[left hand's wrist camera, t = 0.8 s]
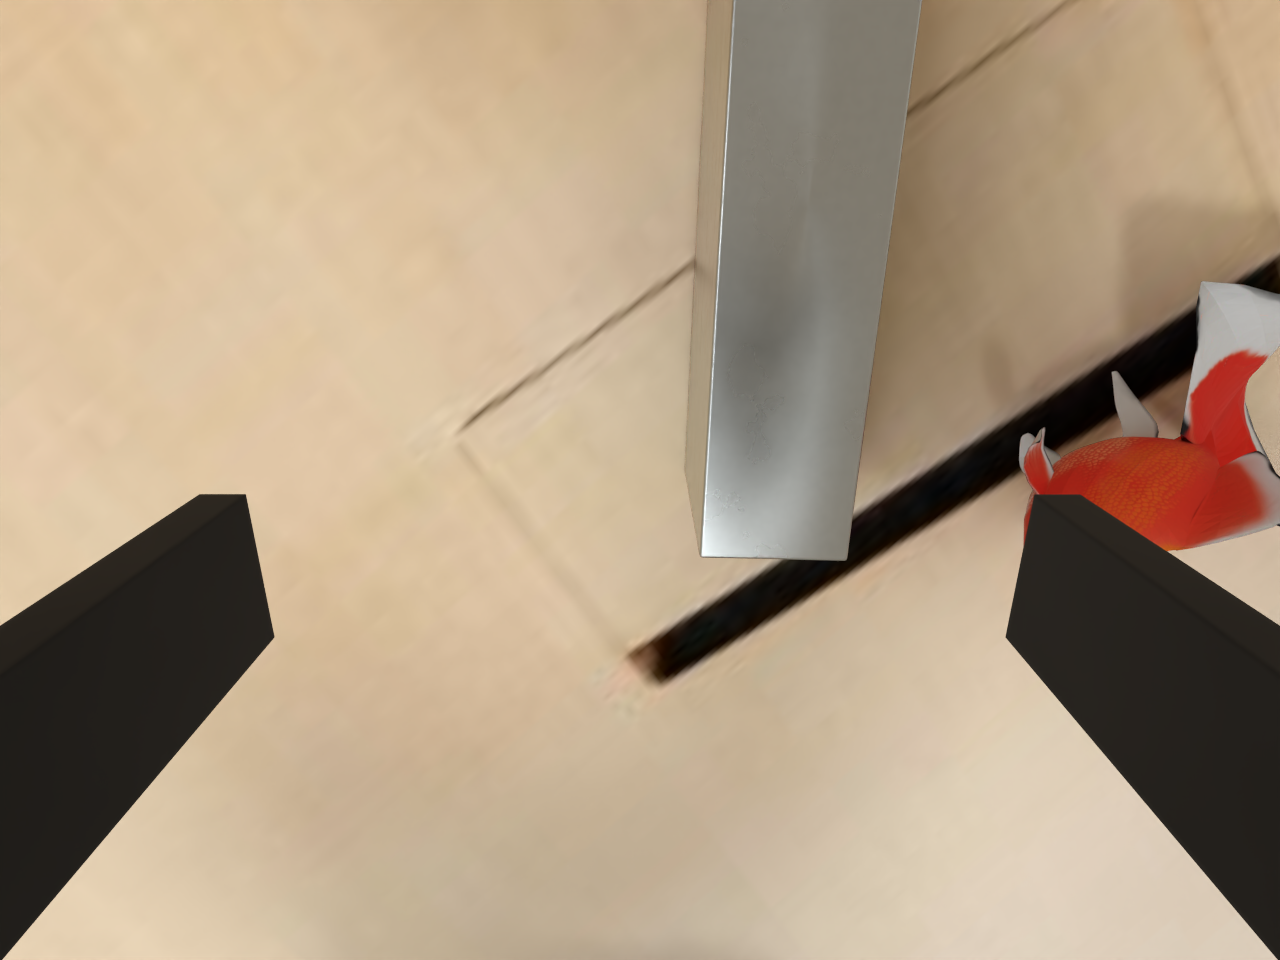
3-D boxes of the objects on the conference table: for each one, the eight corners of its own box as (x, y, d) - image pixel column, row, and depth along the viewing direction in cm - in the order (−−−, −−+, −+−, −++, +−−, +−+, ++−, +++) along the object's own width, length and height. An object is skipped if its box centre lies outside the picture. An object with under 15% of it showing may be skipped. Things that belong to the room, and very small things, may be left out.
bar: (795, 474, 33) (847, 561, 25) (684, 472, 33) (699, 558, 24) (860, -142, 25) (965, -309, 17) (714, -146, 25) (751, -316, 17)
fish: (908, 389, 26) (1224, 502, 19) (1171, 176, 30) (1523, 199, 23) (941, 580, 33) (1185, 722, 25) (1154, 385, 37) (1423, 457, 29)
